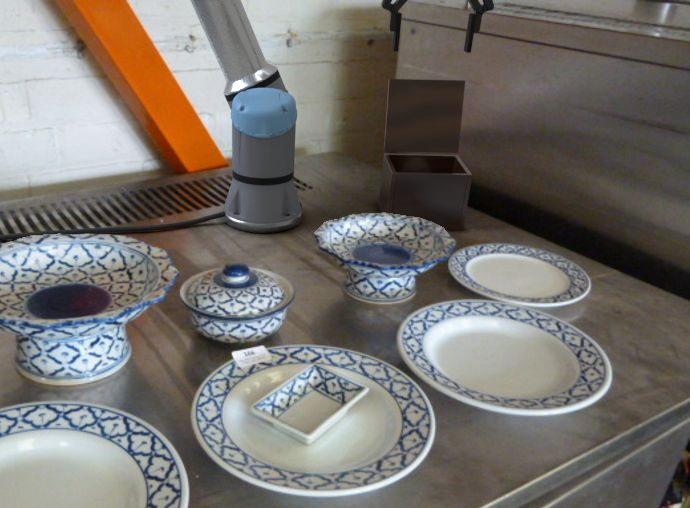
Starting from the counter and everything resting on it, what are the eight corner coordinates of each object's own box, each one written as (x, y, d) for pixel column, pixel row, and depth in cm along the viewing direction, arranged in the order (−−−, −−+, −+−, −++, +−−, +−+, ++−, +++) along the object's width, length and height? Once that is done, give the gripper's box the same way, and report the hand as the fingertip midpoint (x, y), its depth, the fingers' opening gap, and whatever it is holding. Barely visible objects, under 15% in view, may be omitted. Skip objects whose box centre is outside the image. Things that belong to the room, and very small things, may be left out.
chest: (462, 230, 125) (472, 175, 120) (385, 228, 125) (392, 173, 120) (449, 206, 136) (457, 155, 131) (378, 204, 136) (383, 153, 131)
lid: (465, 80, 126) (458, 82, 131) (389, 78, 127) (385, 81, 132) (458, 152, 130) (452, 152, 135) (384, 151, 130) (380, 150, 135)
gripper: (377, -81, 111) (366, 53, 122) (526, -80, 111) (502, 55, 121) (373, -80, 118) (363, 47, 129) (514, -79, 117) (492, 49, 128)
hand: (431, 51), depth 125 cm, fingers open, 13 cm apart
